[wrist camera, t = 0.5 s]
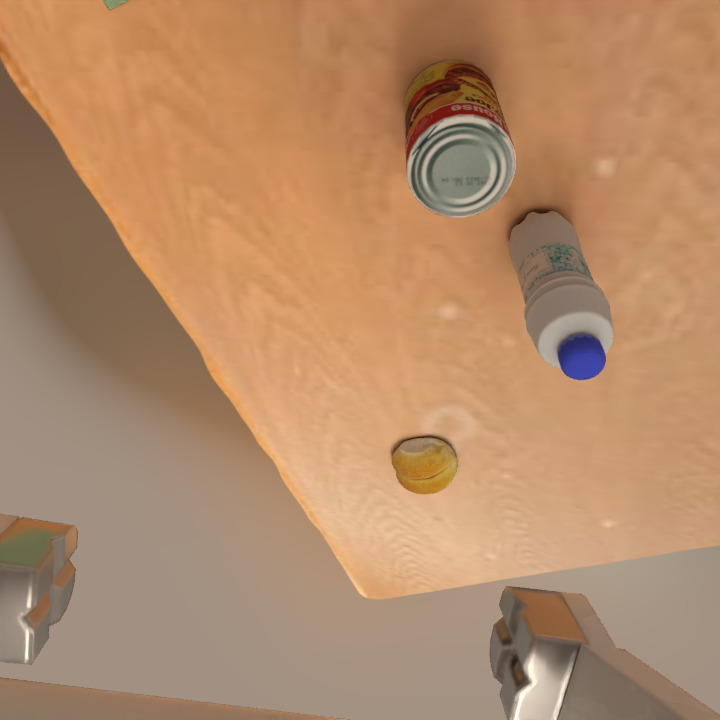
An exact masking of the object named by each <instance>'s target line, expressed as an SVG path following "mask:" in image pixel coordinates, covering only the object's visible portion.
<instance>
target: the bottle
mask: <svg viewBox="0 0 720 720" xmlns="http://www.w3.org/2000/svg"><path fill="white" fill-rule="evenodd" d="M509 250H510V256H511V260H512V263H513V265H514V268H515V270H516V273H517V275H518V278H519V282H520V285H521V289H522V293H523V297H524V301H525V304H526V306H525V321H526V328H527V331H528V333H529V335H530V337H531V339H532V341H533V343H534V345H535V347H536V349H537V351H538V353H539V354H540V356H541V357H542V359H543V360H544V361H545V362H547V363H548V364H550V365H552V366H554V367H557V368H561V369H562V370H563V372H564V373H565V374H566V375H567V376H569V377H570V378H573V379H576V380H586V379H590V378H593V377H595V376H596V375H598V374H599V373H600V372H601V371H602V369H603V368H604V365H605V362H606V356H605V354H606V353H607V352H608V350H609V349H610V347H611V345H612V342H613V339H614V329H613V324H612V319H611V313H610V306H609V303H608V300H607V299H606V297H605V296H604V293H603V291H602V289H601V288H600V287H599V286H598V285H597V284H596V283H594V281H593V278H592V276H591V274H590V271H589V269H588V266H587V264H586V262H585V259H584V257H583V254H582V251H581V247H580V243H579V240H578V237H577V234H576V231H575V229H574V228H573V226H572V225H571V224H570V223H569V222H568V221H567V220H566V219H565V218H563V217H562V216H561V215H560V214H559V213H557V212H555V211H549V212H547V213H543V214H538V213H536V212H531V213H529V214H528V215H527V216H526V218H525V219H524V221H523V222H522V223H520V224H519V225H515V226H514V228H513V229H512V231H511V236H510V244H509Z"/></svg>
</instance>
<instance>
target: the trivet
mask: <svg viewBox="0 0 720 720" xmlns="http://www.w3.org/2000/svg"><path fill="white" fill-rule="evenodd" d="M103 1H104V3H105V4H106V6H107V8H108V9H109V10H111V9H113V8H115V7H117V6H118V5H120V4H122V3H124V2H126V1H128V0H103Z"/></svg>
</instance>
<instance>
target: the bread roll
mask: <svg viewBox="0 0 720 720" xmlns="http://www.w3.org/2000/svg"><path fill="white" fill-rule="evenodd" d="M392 465H393V467H394V469H395V470H396V476H397V479H398V481H399V483H400V484H401V485H402V486H403V487H404V488H406V489H407V490H409V491H411V492H414V493H417V494H433V493H437V492H439V491H441V490H443V489H444V488H446V487H447V486H448V485H449V484H450V483H451V481H452V480H453V478H454V476H455V474H456V472H457V467H458V462H457V459H456V456H455V453H454V451H453V450H452V448H451V447H450V446H449V445H448V444H447V443H445V442H444V441H442V440H440V439H436V438H416V439H411V440H408V441H405V442H403V443H402V444H401V445H400V446H399V448H398V449H397V450H396V451H395V452H394V454H393V457H392Z"/></svg>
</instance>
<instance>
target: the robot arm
mask: <svg viewBox="0 0 720 720" xmlns="http://www.w3.org/2000/svg"><path fill="white" fill-rule="evenodd" d="M77 539H78V531H77V528H76V526H74V525H68V524H62V523H55V522H49V521H43V520H36V519H30V518H24V517H22V518H20V517H19V516H11V515H3V514H0V662H6V663H17V664H28V665H32V663H33V661H34V660H35V658H36V657H37V655H38V654H39V652H40V651H41V649H42V648H43V646H44V644H45V643H46V642H47V640H48V638H49V626H51V625H53V624H55V623H57V622H59V621H60V619H61V618H62V616H63V614H64V613H65V611H66V609H67V606H68V604H69V601H70V598H71V595H72V592H73V587H74V582H75V571H76V569H75V567H74V566H73V564H72V563H71V561H70V560H69V559H70V557H71V556H72V554H73V553H74V551H75V550H76V548H77ZM499 605H500V608H501V611H502V614H503V617H502V618H501V619H500V620H499V621H498V622H497V623H495V624H494V627H493V631H492V635H491V640H490V662H491V668H492V671H493V675H494V677H495V678H496V679H497V680H498V681H499V682H500V683H501V684H502V688H501V691H500V698H501V701H502V704H503V707H504V710H505V713H506V717H507V719H508V720H720V715H719V714H717V713H716V712H714V711H713V710H711V709H710V708H708V707H707V706H706V705H704V704H703V703H701V702H700V701H699V700H697V699H696V698H694V697H693V696H691V695H690V694H688V693H687V692H686V691H684V690H683V689H681V688H680V687H678V686H677V685H675V684H674V683H672V682H671V681H670V680H668V679H667V678H665V677H664V676H662V675H661V674H660V673H658V672H657V671H655V670H654V669H652V668H651V667H649V666H648V665H647V664H645V663H643V662H642V661H641V660H639V659H638V658H636V657H635V656H633V655H632V654H631V653H629V652H628V651H626V650H625V649H618V648H616V646H615V644H614V643H613V641H612V639H611V638H610V636H609V635H608V633H607V631H606V629H605V628H604V626H603V624H602V623H601V621H600V619H599V618H598V616H597V614H596V613H595V611H594V609H593V608H592V606H591V604H590V603H589V601H588V599H587V598H586V597H585V596H584V595H582V594H577V593H567V592H556V591H547V590H538V589H529V588H520V587H511V586H506V588H505V589H504V591H503V593H502V596H501V600H500V604H499ZM0 720H349V719H341V718H332V717H325V716H316V715H308V714H300V713H291V712H282V711H275V710H266V709H258V708H250V707H241V706H233V705H225V704H216V703H208V702H199V701H192V700H183V699H175V698H167V697H158V696H150V695H141V694H133V693H125V692H116V691H109V690H100V689H92V688H84V687H75V686H67V685H59V684H51V683H42V682H33V681H26V680H17V679H9V678H1V677H0Z"/></svg>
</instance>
